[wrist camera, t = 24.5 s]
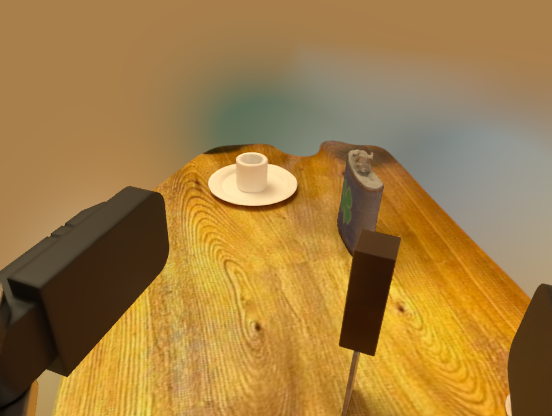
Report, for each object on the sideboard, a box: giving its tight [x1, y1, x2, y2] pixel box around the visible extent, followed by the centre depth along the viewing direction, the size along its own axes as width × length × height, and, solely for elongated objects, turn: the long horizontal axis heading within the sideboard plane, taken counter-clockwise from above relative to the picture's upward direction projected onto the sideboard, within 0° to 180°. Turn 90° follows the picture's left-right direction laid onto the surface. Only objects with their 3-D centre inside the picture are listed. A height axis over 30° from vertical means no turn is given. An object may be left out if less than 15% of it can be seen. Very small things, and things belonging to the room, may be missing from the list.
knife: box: [339, 229, 401, 416], centre depth 31 cm, size 2×3×15 cm
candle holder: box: [208, 153, 297, 206], centre depth 61 cm, size 12×12×4 cm
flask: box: [337, 150, 384, 256], centre depth 51 cm, size 9×3×11 cm, turn 4°
